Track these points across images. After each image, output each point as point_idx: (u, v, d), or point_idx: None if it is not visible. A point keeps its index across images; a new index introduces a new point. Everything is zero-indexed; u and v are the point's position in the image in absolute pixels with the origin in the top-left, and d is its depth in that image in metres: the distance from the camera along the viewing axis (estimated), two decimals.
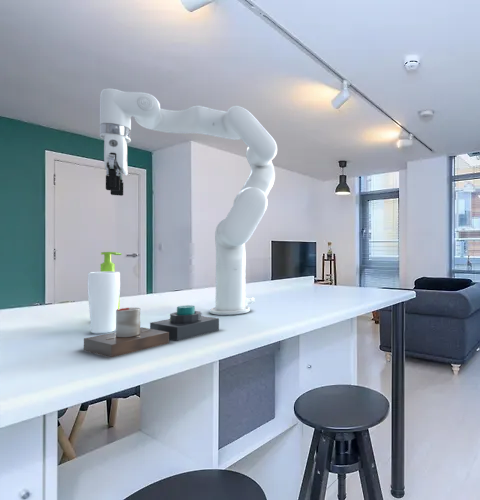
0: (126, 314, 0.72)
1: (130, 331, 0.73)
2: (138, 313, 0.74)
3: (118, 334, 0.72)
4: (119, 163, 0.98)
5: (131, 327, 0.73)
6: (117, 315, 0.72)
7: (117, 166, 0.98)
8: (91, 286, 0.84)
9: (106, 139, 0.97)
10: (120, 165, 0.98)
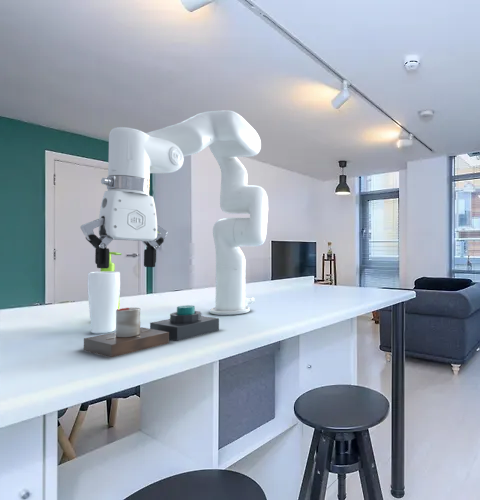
0: (126, 314, 0.72)
1: (130, 331, 0.73)
2: (138, 313, 0.74)
3: (118, 334, 0.72)
4: (106, 229, 0.69)
5: (131, 327, 0.73)
6: (117, 315, 0.72)
7: None
8: (91, 286, 0.84)
9: (102, 199, 0.72)
10: (107, 232, 0.69)
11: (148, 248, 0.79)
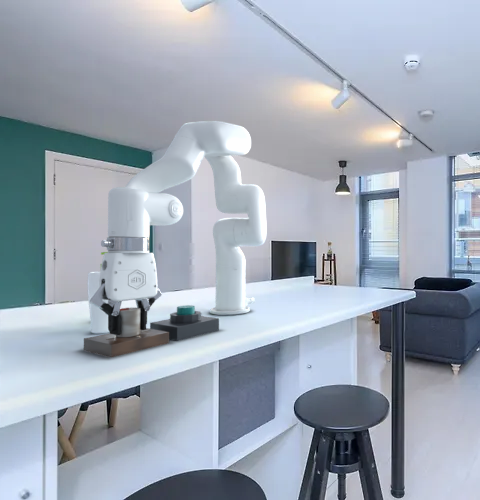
0: (126, 314, 0.72)
1: (130, 331, 0.73)
2: (138, 313, 0.74)
3: None
4: None
5: (131, 327, 0.73)
6: None
7: None
8: (91, 286, 0.84)
9: None
10: (108, 296, 0.69)
11: None
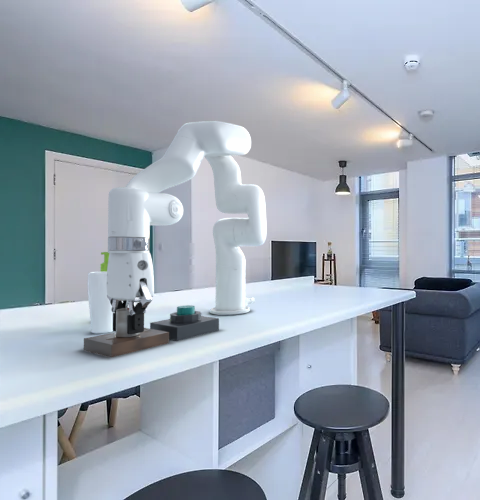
0: None
1: None
2: None
3: None
4: None
5: None
6: None
7: None
8: (91, 286, 0.84)
9: (132, 260, 0.71)
10: (151, 293, 0.74)
11: None
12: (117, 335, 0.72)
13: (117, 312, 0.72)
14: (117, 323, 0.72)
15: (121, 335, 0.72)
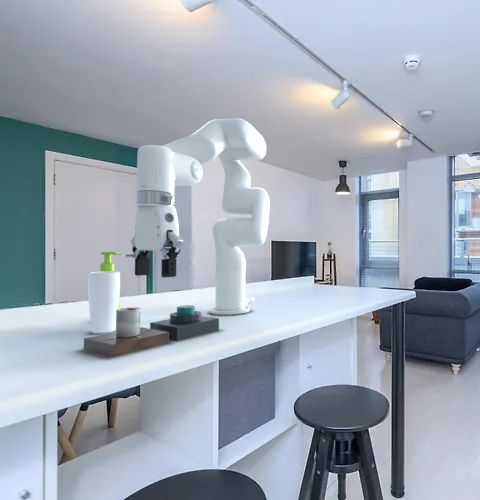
0: None
1: None
2: None
3: (136, 332, 0.74)
4: None
5: None
6: (134, 314, 0.73)
7: (171, 246, 0.78)
8: (91, 286, 0.84)
9: (160, 213, 0.76)
10: None
11: (142, 257, 0.82)
12: (117, 335, 0.72)
13: (117, 312, 0.72)
14: (117, 323, 0.72)
15: (121, 335, 0.72)
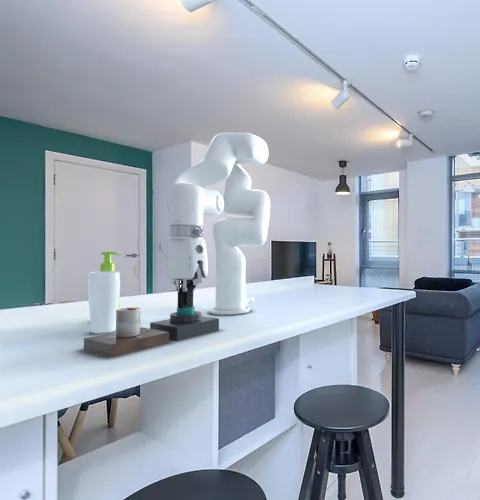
0: None
1: None
2: None
3: (136, 332, 0.74)
4: None
5: None
6: (134, 314, 0.73)
7: None
8: (91, 286, 0.84)
9: (192, 245, 0.83)
10: (205, 273, 0.86)
11: None
12: (117, 335, 0.72)
13: (117, 312, 0.72)
14: (117, 323, 0.72)
15: (121, 335, 0.72)
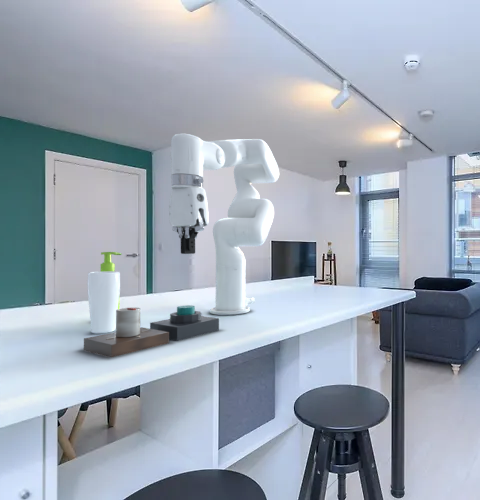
0: None
1: None
2: None
3: (136, 332, 0.74)
4: None
5: None
6: (134, 314, 0.73)
7: None
8: (91, 286, 0.84)
9: (193, 193, 0.88)
10: (206, 221, 0.91)
11: None
12: (117, 335, 0.72)
13: (117, 312, 0.72)
14: (117, 323, 0.72)
15: (121, 335, 0.72)
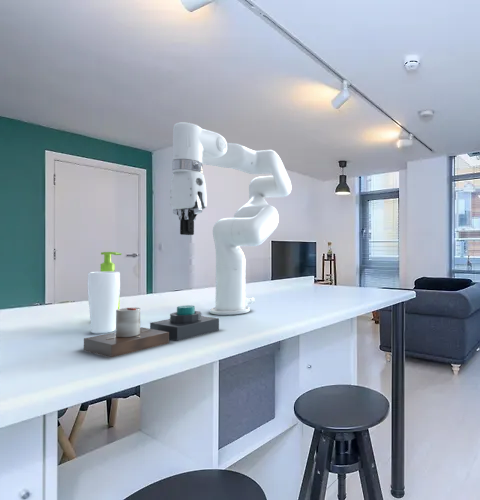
0: None
1: None
2: None
3: (136, 332, 0.74)
4: None
5: None
6: (134, 314, 0.73)
7: None
8: (91, 286, 0.84)
9: (192, 177, 0.94)
10: (204, 204, 0.96)
11: None
12: (117, 335, 0.72)
13: (117, 312, 0.72)
14: (117, 323, 0.72)
15: (121, 335, 0.72)
